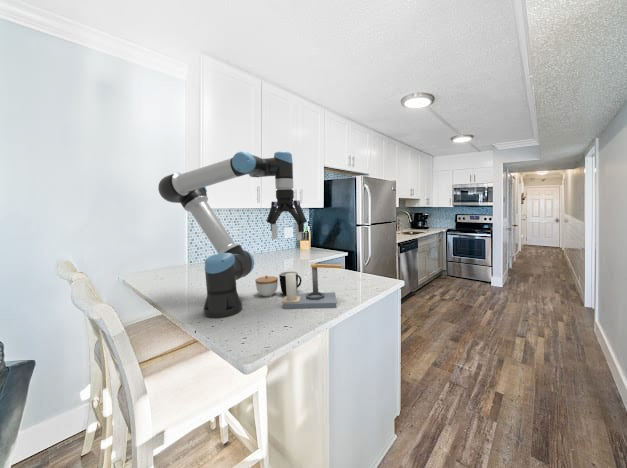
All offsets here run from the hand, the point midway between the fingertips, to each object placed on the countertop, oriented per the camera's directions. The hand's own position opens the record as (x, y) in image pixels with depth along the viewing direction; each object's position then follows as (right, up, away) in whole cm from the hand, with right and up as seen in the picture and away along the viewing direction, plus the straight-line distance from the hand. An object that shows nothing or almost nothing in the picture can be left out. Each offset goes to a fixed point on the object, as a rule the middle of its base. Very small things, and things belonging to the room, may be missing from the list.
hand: (286, 239), depth 118 cm
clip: (+17, -13, +5) cm, 22 cm away
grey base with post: (+10, -28, +2) cm, 30 cm away
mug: (+1, -27, +17) cm, 32 cm away
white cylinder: (+2, -26, 0) cm, 26 cm away
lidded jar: (-11, -28, +16) cm, 34 cm away
